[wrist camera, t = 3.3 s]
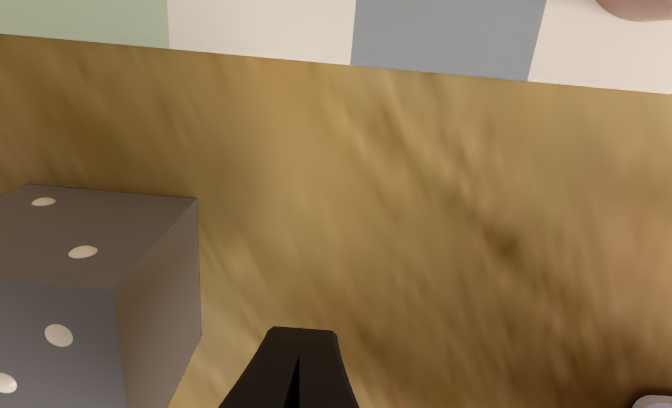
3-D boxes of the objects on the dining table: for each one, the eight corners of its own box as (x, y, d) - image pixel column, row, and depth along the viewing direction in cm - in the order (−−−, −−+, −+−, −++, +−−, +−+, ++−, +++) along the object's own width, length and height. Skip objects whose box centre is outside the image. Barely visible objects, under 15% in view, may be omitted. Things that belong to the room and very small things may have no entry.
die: (197, 194, 11) (109, 288, 7) (202, 334, 13) (132, 479, 8) (24, 179, 11) (-177, 264, 7) (51, 321, 13) (-97, 464, 8)
